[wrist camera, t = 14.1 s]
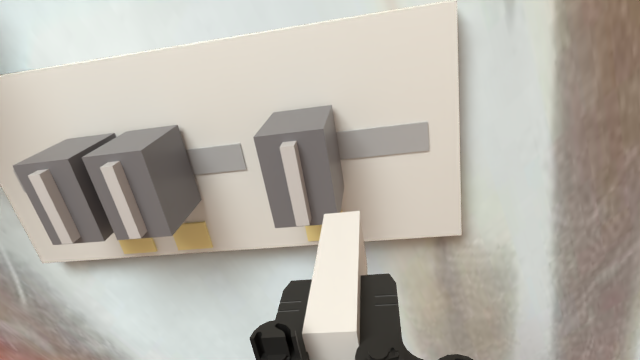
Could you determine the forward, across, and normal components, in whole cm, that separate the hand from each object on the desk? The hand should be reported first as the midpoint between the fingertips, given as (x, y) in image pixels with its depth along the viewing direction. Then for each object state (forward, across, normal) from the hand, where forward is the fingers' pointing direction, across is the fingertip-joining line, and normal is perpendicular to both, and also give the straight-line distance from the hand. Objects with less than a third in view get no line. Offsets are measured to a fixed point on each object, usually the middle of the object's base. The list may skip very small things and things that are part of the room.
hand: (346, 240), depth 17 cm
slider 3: (+11, -3, 0) cm, 12 cm away
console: (+14, -11, 0) cm, 18 cm away
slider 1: (+12, -19, 0) cm, 22 cm away
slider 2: (+12, -14, 0) cm, 18 cm away
